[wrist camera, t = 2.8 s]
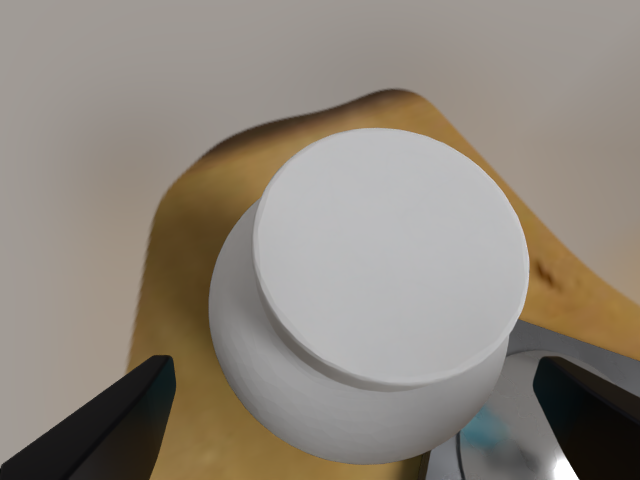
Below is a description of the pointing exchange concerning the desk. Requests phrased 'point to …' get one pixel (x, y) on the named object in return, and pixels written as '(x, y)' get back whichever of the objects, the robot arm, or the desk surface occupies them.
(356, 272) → the pill bottle
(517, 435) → the flange plate
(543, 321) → the desk surface
